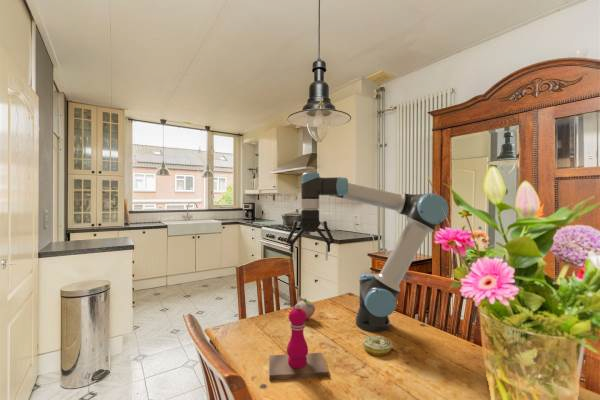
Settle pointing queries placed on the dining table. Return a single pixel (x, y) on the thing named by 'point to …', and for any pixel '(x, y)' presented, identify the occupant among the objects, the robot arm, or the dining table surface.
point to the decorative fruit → (307, 307)
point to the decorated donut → (377, 345)
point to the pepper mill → (297, 339)
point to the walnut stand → (284, 371)
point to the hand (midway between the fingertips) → (310, 260)
